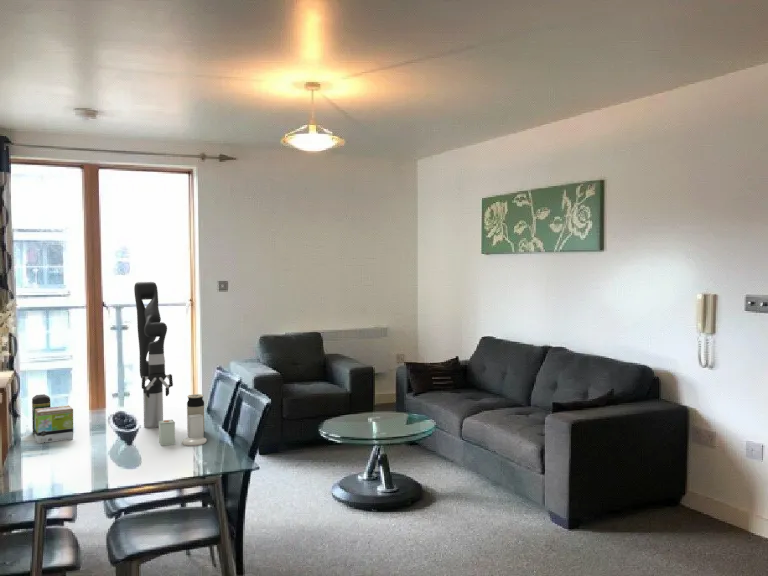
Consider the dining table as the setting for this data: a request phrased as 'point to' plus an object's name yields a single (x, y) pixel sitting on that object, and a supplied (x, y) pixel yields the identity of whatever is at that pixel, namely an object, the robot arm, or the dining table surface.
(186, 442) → the dish
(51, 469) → the dining table surface
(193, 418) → the tall white lidded box
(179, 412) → the dining table surface
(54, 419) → the tea box
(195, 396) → the travel mug
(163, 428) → the pale grey boxy piece
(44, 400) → the coffee jar
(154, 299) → the robot arm
